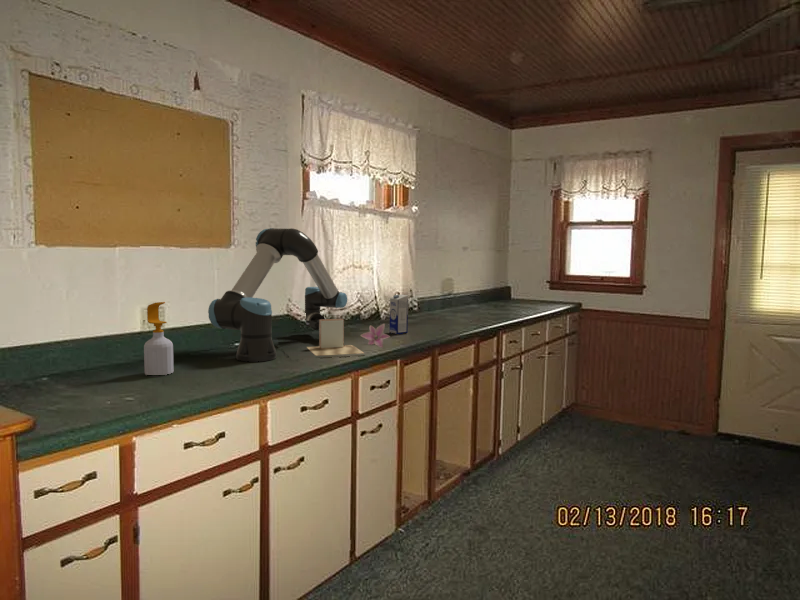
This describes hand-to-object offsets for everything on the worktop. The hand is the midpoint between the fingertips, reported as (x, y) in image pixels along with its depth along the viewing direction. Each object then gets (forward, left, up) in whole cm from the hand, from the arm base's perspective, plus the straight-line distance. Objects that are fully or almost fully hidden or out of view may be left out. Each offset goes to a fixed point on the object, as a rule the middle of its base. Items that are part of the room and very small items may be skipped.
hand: (327, 327), depth 246 cm
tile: (0, -9, -7) cm, 11 cm away
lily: (+21, -4, -9) cm, 23 cm away
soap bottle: (-66, -36, -9) cm, 76 cm away
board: (0, -15, -8) cm, 17 cm away
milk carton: (+44, +29, -9) cm, 53 cm away
